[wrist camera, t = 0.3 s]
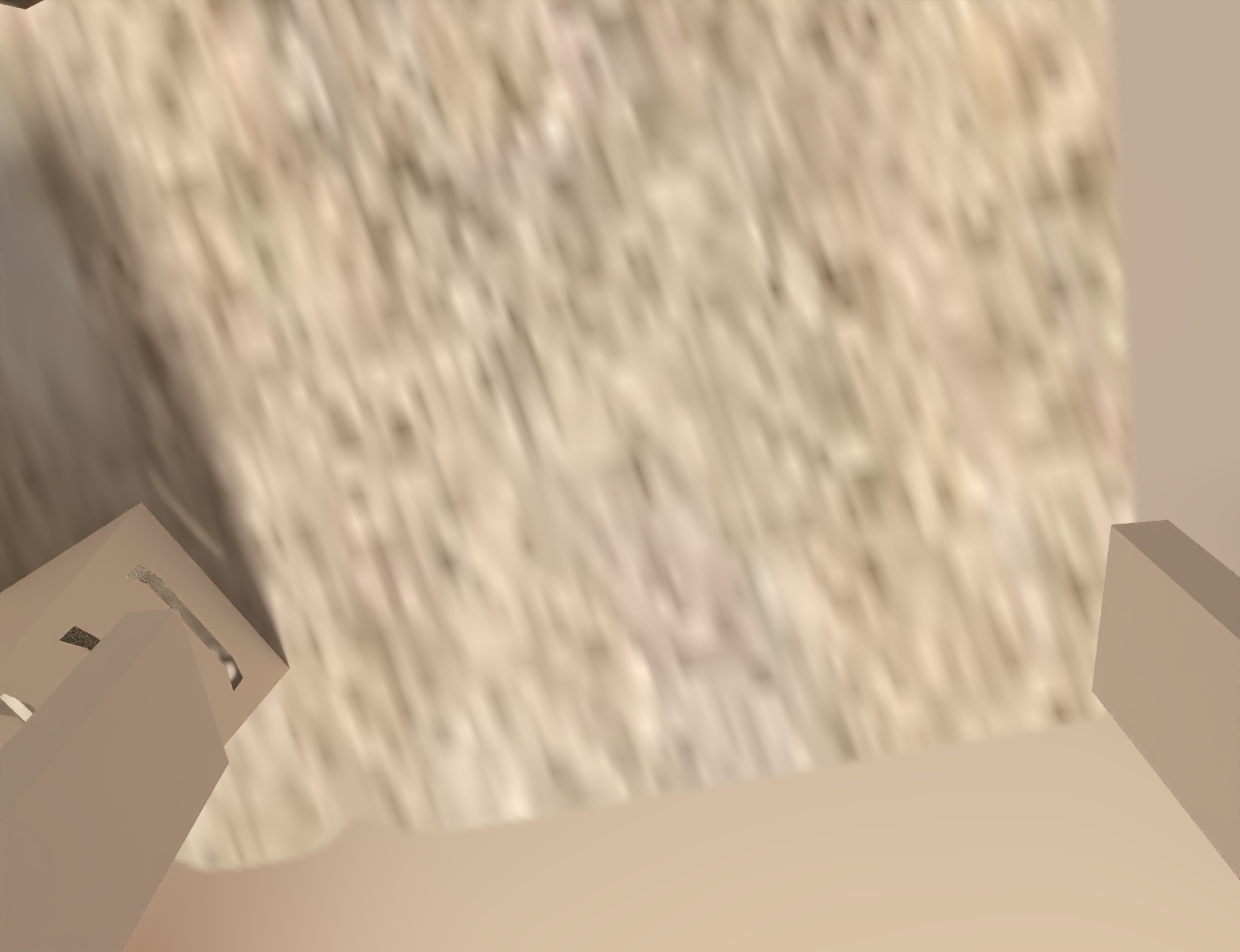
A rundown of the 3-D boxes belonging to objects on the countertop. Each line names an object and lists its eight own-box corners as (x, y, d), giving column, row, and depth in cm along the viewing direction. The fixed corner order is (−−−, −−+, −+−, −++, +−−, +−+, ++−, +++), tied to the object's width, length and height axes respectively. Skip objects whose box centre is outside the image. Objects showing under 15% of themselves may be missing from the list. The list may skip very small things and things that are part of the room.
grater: (289, 668, 46) (71, 1059, 28) (129, 759, 48) (-173, 1179, 30) (141, 502, 43) (-222, 822, 24) (-25, 608, 45) (-476, 977, 26)
